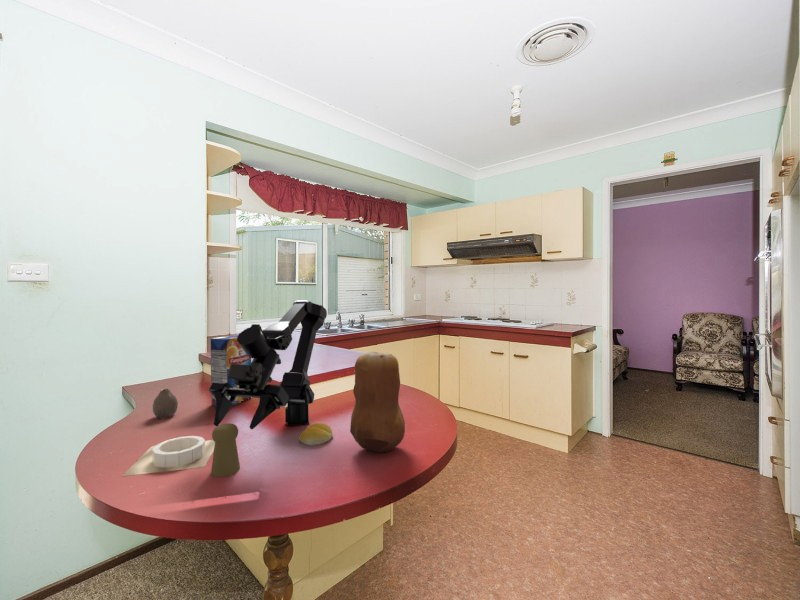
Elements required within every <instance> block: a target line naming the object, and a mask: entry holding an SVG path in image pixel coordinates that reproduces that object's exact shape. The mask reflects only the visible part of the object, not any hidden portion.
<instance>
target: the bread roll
mask: <svg viewBox="0 0 800 600" xmlns="http://www.w3.org/2000/svg"><path fill="white" fill-rule="evenodd" d="M332 437H333V429H332V428H331V427H330V426H329V425H328V424H327V423H324V422H314V423H312V424H310V425H309V426H307V427H306V428H305V430H303V431H302V432H301V433H300V435H299V441H300V442H301V443H302V444H305V445H307V446H317V445H322V444H321V443H323V444H326V443H328V442H329V441H330V440H331V438H332ZM327 441H328V442H327ZM325 442H326V443H325Z"/></svg>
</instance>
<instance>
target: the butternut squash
mask: <svg viewBox="0 0 800 600" xmlns="http://www.w3.org/2000/svg"><path fill="white" fill-rule="evenodd" d="M400 387H401V376H400V367H399V361H398V358H397V357H396V356H395V355H393V354H391V353H389V352H388V353H387V352H385V353H383V352H378V351H367V352H364V353H362V354H360V355H359V356H358V357H357V358H356V360H355V363H354V387H353V390H352V391H353V397H354V398H355V401H354V403H355V404H354V407H353V409H352V412H351V416H350V431H349V433H350V434H351V435H352V437H353V439H354V440H355V442H356V444H358V445H359V447H361V448H362V449H364V450H367V451H372V452H375V453H377V454H380V453H387V452H389V451H391V450H393V449H394V448H396V447H397V446H399V445H400V444H401V442H402V441H403V439H404V437H405V434H406V433H405V432H406V431H405V430H406V421H405V417H404V414H403V412H402V409H401V407H400V404H399V393H400Z"/></svg>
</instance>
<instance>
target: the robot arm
mask: <svg viewBox="0 0 800 600" xmlns="http://www.w3.org/2000/svg"><path fill="white" fill-rule="evenodd" d="M327 315H328V312H327V309H326V307H324V306H323V304H317V303H314V302H312V301H309V300H295V301H293V303H292V305H291V307H290V309H288V310H287V311H286V313H285V314H284V315H283V316H282V317H281V319H280V320H279V321H278V322H276V323H273V324H270V325H268V326H267V327H266V328H264V329H263V328H262V326H261V325H260V324H259V323H258V324H257V323H254V324H253V323H252V324H251V326H250V327H247V328H246V329H244V330H242V331H241V332H240V333H238V334H237V335H238V337H237V341H238V343H239V344H240V346H241V347H242V348H243V350H244V351H245V352H246V354H247V355H248V356H249V357H250V358H251V364H250V365H239V364H231V365H230V368H229V372H228V375H227V378H229V379H230V378H231V379H234V380H236V381H235V382H234V383H235V384H236V385H239V388H233V387H232V386H231V385H230V384H229V383H228V382H214V383H212V385H211V384H210V387H209V388H208V390H207V391H208V392H209V393H210V394H212V396H213V397H214V398H215V399H216V406H215V412H214V419H213V420H214V421H213V426H215V427H217V426H219V425H221V423H222V422H223V420H224V419H225V417H226V416H227V414H228V412H229V411H230V409H231V408H232V407H233V406H234V405H233V404H232V403H231V402H233V401H234V400H235V398H236V397H252V398H253V399H254V398H255V399H259V403H258V406H257V408H256V410H255V413H254V414H253V417H252V419H251V422H250V424H249V429H250V430H254V429H255V428H256V427H257V426H258V425H259V424H260V423H261V422H263V421H264V420H265V419H266V418H267V417H268V416H270V415H271V414H272V413H273V412H275V411H277V410H280V409H281V407H283V408H284V407H285V408H284V410H285V413H284V414H285V423H286V426H287V427H290V426H291V427H292V425H293V426H300V425H302V426H303V425H309V424H310V417H309V414H310V413H309V405H311V404H313V403H314V400H315V393H314V391H313V390H312V388H311V386H310V385H311V379H310V377H309V375H308V371H309V367H310V362H311V358H312V354H313V350H314V345H315V340H316V336H317V332H318V331H319V330H320V329H321V328H322V327H323V326H324V323H325V320H326V318H327ZM299 324H300V325H301V331H300V335H299V339H298V342H297V347H296V351H295V355H294V358H293V362H292V366H291V369H290V370H289V371H287V372H286V371H285V372H284V374H283V375H282V380H281V381H280V382H281V383H280V384H271V382H272V381H273V378H272V377H271V376H272V374H273V372H274V369H275V367H276V365H281V364H282V360H281V358H280V354H278V352H277V351H286V350H287V349H288V348H289V347H290V344H291V342H292V341H293V335H292V334H293V332H294V331H295V330H296V329H297V327H298V326H299ZM268 383H270V384H268ZM252 398H251V399H252Z"/></svg>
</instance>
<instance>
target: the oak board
mask: <svg viewBox="0 0 800 600" xmlns="http://www.w3.org/2000/svg"><path fill="white" fill-rule="evenodd" d="M155 446H156V445H151V446H150V448H148V449H147V450H146V451H145V452H144V453H143V454H142V455H141V457H139V458H138V459H137V460H136V462H134V463H133V464H132V465H131V467H129V468H128V469H127V470H126V471H125V472H124V473H123V474H122V477H128V476H131V477H132V476H137V475H138V476H139V475H145V474H146V475H147V474H156V473H163V472H165V473H166V472H172V471H173V472H175V471H181V470H188V469H189V470H190V469H199V468H205V467H206V465H207V464H208V462H209V460H210V458H211V456H212V455H213V454H214V446H215V442H214V441H213V439H212V440H210V439H209V440H205V453H204V455H203V456H202V457H201V458H199V459H198V460H196V461H194V462H192V463H188V464H185V465H182V466H177V467H168V468H166V467H165V468H163V467H156V466H155V465H154V464H153V455H152V449H153V448H154V447H155Z"/></svg>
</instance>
